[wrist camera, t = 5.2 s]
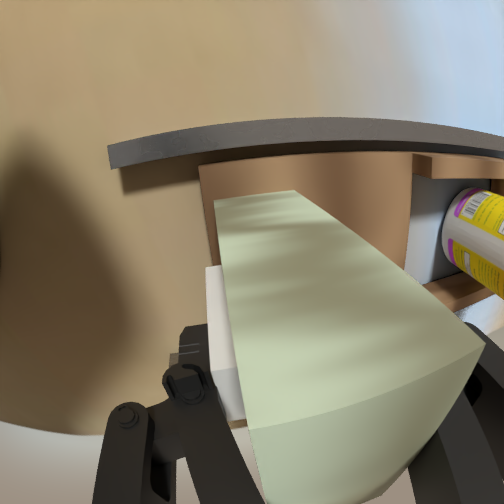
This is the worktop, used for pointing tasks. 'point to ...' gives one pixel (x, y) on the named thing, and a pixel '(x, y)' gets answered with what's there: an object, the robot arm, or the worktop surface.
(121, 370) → the worktop surface
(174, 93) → the worktop surface
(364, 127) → the lane rails
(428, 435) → the wooden holder tray
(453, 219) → the supplement bottle
